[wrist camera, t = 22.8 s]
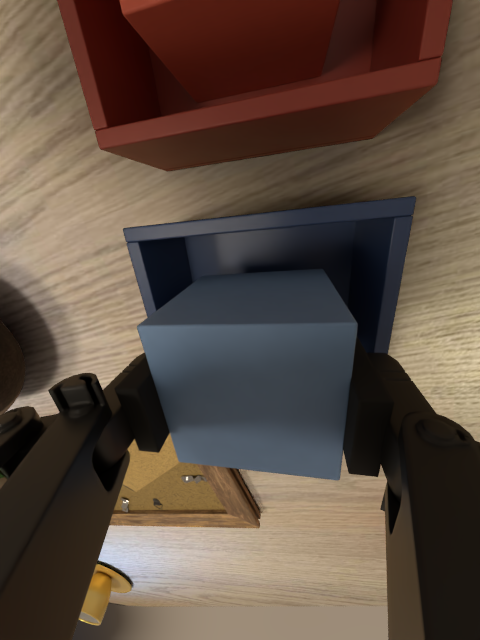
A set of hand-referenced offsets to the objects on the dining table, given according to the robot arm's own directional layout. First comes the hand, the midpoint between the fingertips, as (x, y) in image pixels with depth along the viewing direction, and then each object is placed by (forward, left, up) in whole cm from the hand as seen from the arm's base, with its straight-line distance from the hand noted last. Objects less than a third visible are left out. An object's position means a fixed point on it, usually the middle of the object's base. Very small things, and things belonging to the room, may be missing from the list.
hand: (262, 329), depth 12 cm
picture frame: (+20, -16, -4) cm, 26 cm away
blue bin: (0, 0, -4) cm, 4 cm away
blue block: (0, 0, 0) cm, 0 cm away
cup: (+56, -35, -4) cm, 66 cm away
